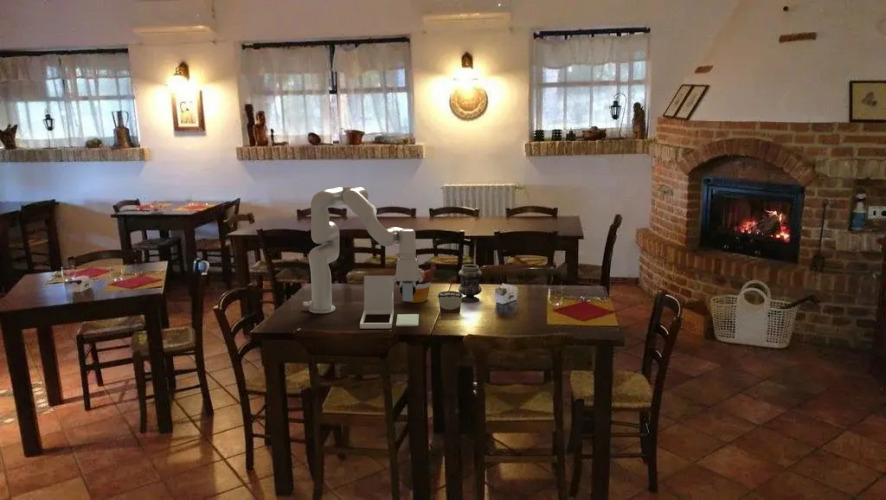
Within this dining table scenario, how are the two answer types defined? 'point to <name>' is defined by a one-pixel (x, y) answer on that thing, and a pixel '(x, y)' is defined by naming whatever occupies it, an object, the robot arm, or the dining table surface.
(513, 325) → the dining table surface
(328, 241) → the robot arm
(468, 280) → the apothecary jar
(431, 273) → the bucket of meat
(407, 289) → the box
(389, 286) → the case
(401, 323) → the mat
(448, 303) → the food container
